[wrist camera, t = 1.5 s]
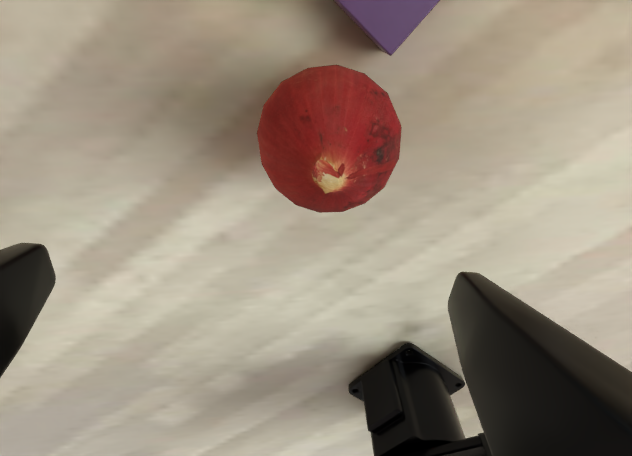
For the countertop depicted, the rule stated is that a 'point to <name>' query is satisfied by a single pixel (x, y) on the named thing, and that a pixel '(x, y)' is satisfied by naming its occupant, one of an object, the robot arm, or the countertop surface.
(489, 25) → the countertop surface
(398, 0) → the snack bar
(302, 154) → the onion
